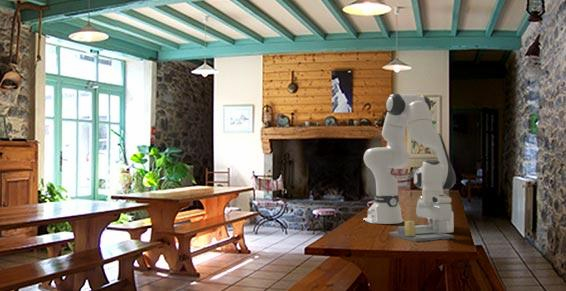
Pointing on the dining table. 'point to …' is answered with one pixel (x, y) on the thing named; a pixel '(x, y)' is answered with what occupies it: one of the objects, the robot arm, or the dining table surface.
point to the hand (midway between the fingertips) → (433, 229)
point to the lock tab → (410, 228)
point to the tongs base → (402, 229)
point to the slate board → (423, 236)
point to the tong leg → (425, 229)
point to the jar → (446, 225)
